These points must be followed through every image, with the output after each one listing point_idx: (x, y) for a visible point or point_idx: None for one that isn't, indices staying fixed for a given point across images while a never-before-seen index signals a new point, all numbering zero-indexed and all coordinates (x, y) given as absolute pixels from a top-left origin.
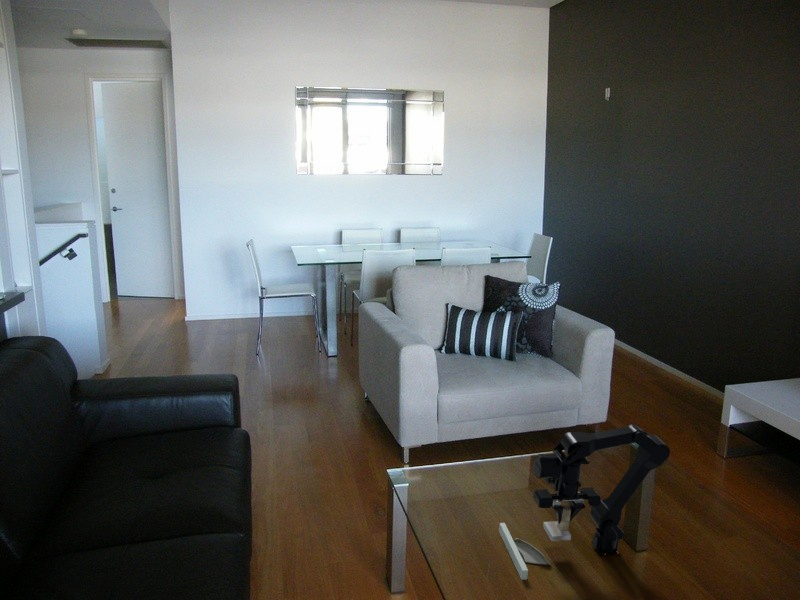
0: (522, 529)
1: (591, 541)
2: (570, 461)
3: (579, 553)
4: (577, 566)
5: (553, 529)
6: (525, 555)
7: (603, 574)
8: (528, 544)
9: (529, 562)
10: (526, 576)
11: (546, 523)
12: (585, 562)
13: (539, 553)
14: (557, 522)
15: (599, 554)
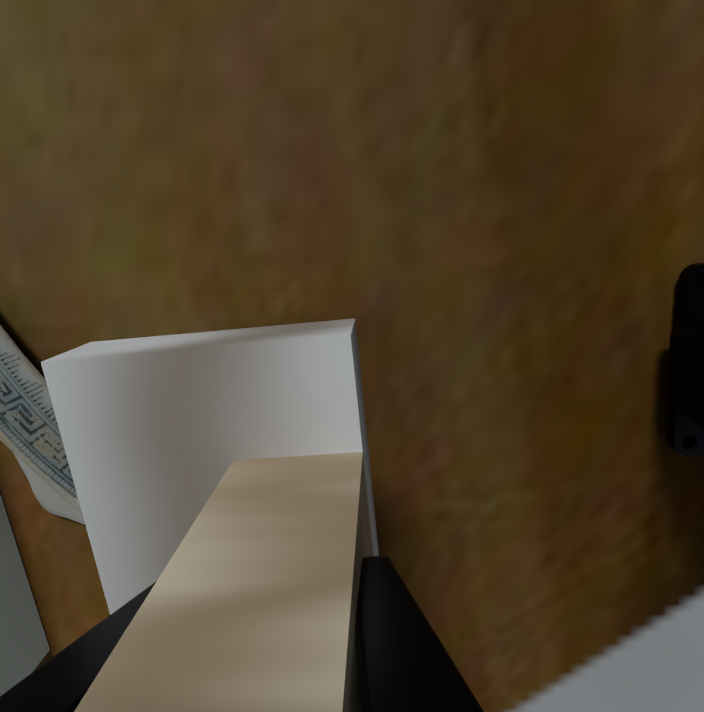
0: (54, 60)
1: (689, 275)
2: None
3: (502, 410)
4: (427, 549)
5: (164, 536)
6: (35, 473)
7: (587, 626)
8: (10, 447)
9: (73, 519)
10: (28, 670)
11: (79, 401)
12: (507, 511)
13: None
14: (212, 495)
15: (671, 444)
